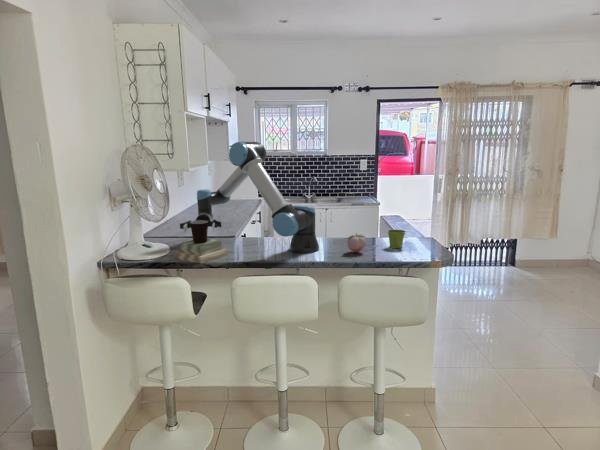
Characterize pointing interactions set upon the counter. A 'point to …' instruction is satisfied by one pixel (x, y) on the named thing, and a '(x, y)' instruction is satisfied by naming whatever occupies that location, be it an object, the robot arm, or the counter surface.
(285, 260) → the counter surface
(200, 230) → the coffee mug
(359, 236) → the decorative fruit
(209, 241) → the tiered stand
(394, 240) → the plant pot
